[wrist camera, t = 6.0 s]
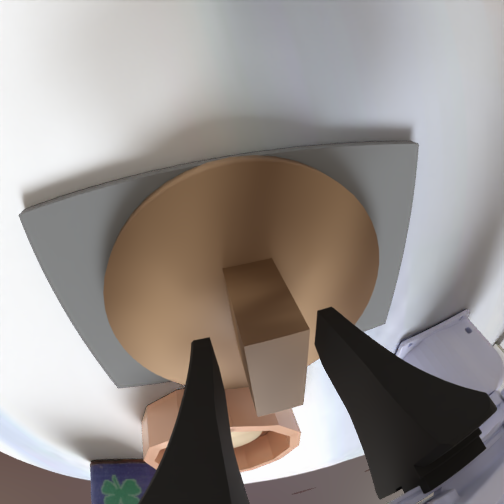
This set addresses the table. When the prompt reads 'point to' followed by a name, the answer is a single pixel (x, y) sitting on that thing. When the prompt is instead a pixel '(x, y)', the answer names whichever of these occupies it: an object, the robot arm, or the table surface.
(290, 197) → the lid
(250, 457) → the bowl
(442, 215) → the table surface
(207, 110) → the table surface
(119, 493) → the flask
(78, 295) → the mat
